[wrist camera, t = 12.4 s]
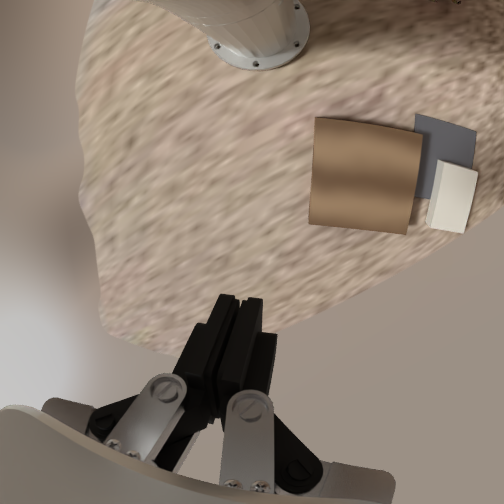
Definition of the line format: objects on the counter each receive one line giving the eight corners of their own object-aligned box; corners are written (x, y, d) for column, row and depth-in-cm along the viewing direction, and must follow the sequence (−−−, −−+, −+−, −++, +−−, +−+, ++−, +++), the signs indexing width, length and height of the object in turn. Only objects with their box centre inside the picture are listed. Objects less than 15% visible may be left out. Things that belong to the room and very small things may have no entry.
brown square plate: (314, 117, 30) (315, 117, 28) (414, 132, 28) (422, 134, 26) (308, 215, 37) (308, 224, 34) (399, 225, 35) (405, 234, 32)
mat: (415, 113, 27) (416, 113, 27) (475, 131, 26) (476, 131, 25) (405, 194, 32) (406, 195, 32) (463, 205, 31) (464, 206, 31)
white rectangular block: (478, 172, 26) (471, 168, 28) (444, 162, 27) (437, 159, 29) (463, 233, 31) (457, 227, 32) (430, 227, 31) (425, 221, 33)
